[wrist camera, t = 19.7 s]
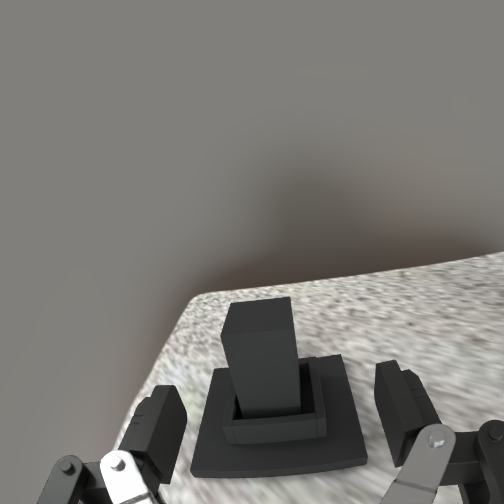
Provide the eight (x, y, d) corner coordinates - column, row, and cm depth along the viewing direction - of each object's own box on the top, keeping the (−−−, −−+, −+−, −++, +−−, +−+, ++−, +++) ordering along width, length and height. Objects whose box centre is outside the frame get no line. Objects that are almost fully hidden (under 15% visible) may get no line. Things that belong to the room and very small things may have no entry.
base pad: (216, 376, 35) (208, 350, 34) (340, 362, 33) (340, 335, 32) (194, 477, 22) (179, 453, 20) (366, 464, 20) (370, 438, 19)
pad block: (250, 389, 30) (230, 302, 27) (301, 385, 29) (290, 296, 26) (245, 425, 25) (219, 335, 22) (302, 422, 25) (290, 329, 22)
